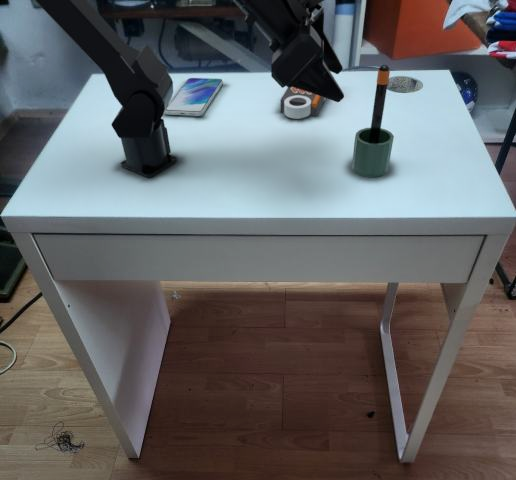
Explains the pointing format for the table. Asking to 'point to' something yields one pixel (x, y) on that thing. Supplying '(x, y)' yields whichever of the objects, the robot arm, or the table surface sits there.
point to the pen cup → (372, 153)
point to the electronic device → (300, 103)
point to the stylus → (379, 103)
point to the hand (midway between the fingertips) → (340, 84)
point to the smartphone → (194, 96)
